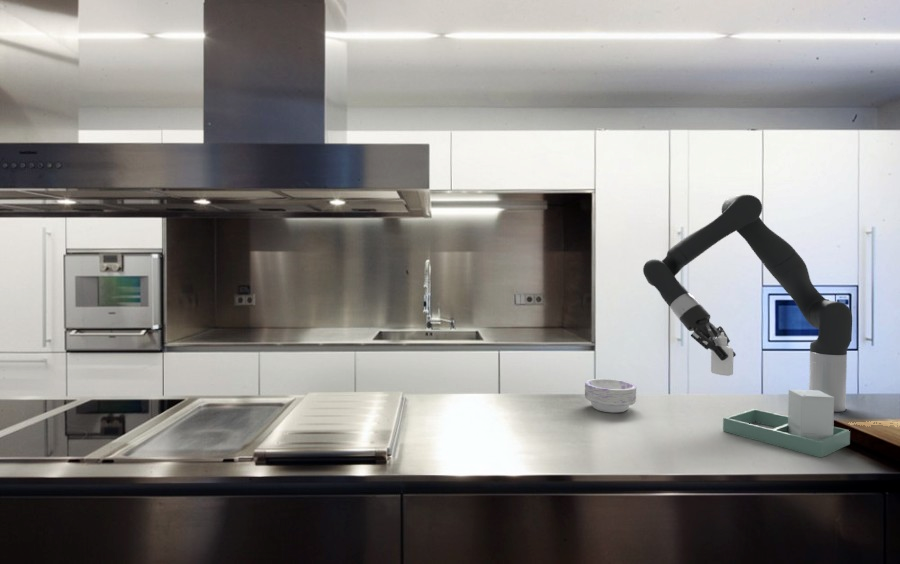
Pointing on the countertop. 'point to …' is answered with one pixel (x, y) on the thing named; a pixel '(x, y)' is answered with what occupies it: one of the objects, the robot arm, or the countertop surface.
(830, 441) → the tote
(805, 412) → the supplement box
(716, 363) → the eye dropper bottle
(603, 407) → the paper bowls
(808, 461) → the countertop surface
